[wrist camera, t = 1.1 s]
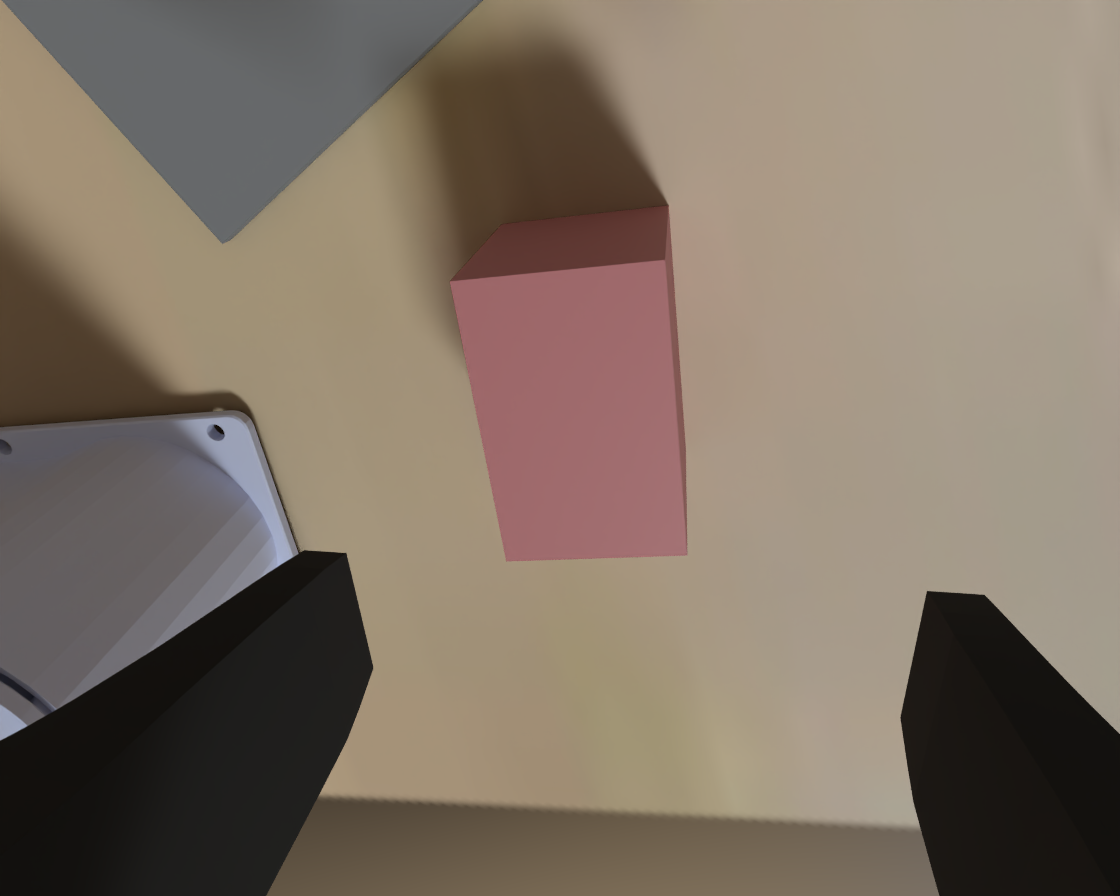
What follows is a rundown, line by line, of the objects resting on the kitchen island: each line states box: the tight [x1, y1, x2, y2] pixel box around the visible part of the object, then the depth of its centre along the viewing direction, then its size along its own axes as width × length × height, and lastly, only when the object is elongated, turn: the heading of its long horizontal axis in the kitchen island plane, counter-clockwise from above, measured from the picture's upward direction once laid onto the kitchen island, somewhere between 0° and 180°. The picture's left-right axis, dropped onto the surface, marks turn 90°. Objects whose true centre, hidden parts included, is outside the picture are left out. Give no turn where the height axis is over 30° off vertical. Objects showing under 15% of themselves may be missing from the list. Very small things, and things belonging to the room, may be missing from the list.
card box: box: [450, 205, 687, 561], centre depth 18 cm, size 4×6×5 cm, turn 8°
